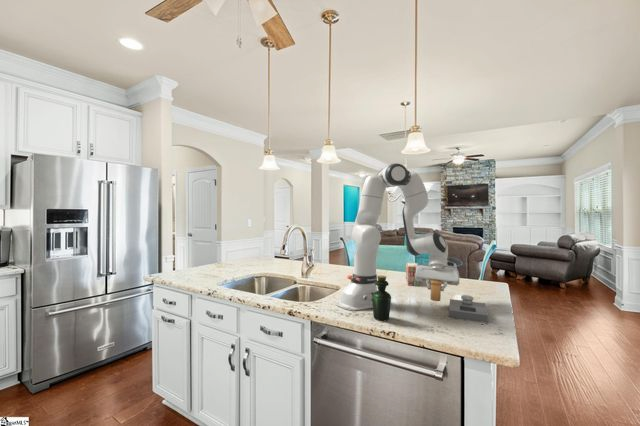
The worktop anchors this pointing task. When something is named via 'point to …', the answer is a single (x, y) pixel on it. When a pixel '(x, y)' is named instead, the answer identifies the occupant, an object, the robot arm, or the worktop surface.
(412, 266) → the stack of blocks
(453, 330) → the worktop surface
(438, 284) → the mushroom head peg
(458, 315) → the gray peg hole board
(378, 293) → the potion bottle
